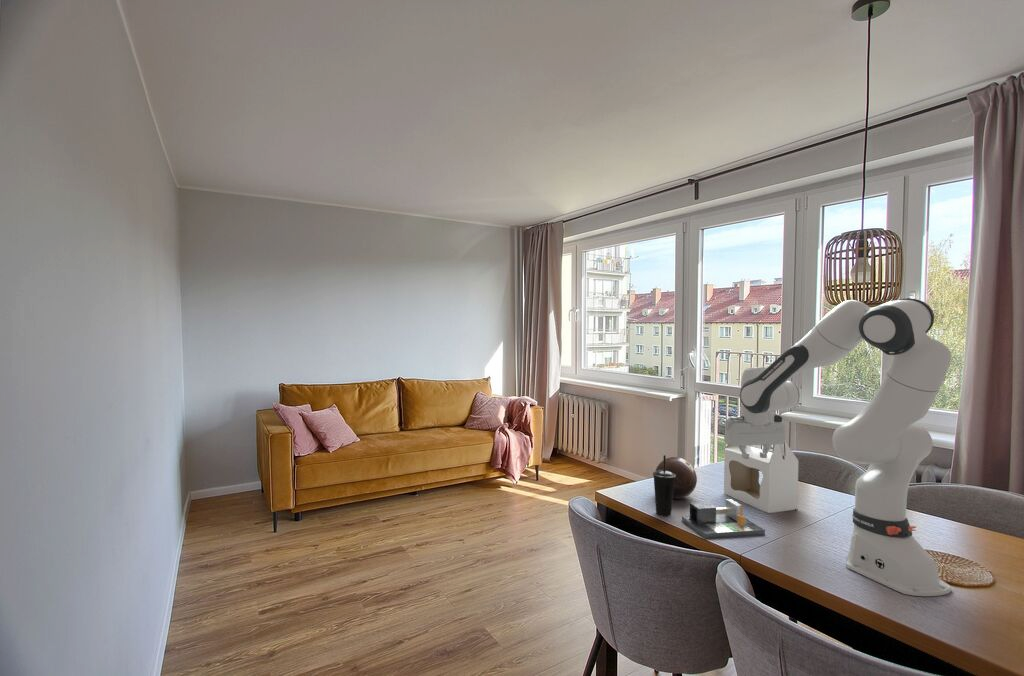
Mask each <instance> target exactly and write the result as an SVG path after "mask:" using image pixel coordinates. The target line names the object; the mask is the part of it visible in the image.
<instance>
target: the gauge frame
mask: <svg viewBox="0 0 1024 676" xmlns="http://www.w3.org/2000/svg"><path fill="white" fill-rule="evenodd" d="M716 508H717V506H714V505H713V504H711V503H709V502H707V501H702V502H701V501H699V502H689V515H684V516H683V515H682V516H681V521H682V523H684V524H686V526H688V527H689V528H690V529H692V530H693V531H694V532H695V533H697V534H698V535H699V536H701V537H702V538H703V539H705V540H706V539H721V538H736V537H748V536H749V537H750V536H751V537H753V536H766V530H765V529H764V528H762V527H761V526H759V525H758V524H756V523H755V522H753V521H751V520H749V519H747V518H746V517H745V520H747V523H745V525H740V524H739V523H737V521H735V520H734V519H732V518H731V517H729V516H727V515H726V514H716Z"/></svg>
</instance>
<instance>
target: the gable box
mask: <svg viewBox="0 0 1024 676" xmlns="http://www.w3.org/2000/svg"><path fill="white" fill-rule="evenodd" d="M726 445H727V446H726V447H725V448H724V458H723V459H724V461H723V462H724V465H723V466H724V467H723V469H724V470H723V472H724V473H723V494H725V495H726V496H728V497H731V498H733V499H736V500H738V501H740V502H742V503H745V504H747V505H749V506H751V507H753V508H755V509H758V510H760V511H762V512H765V513H767V514H773V513H780V512H781V513H782V512H787V511H795V509H796V510H798V508H799V507H798V504H799V503H798V502H799V501H798V500H799V495H798V494H799V459H798V458H797V456H796V455H795V453H794V452H793V450H792V449H791V448H790V446H789V445H788V444H787V442H786V441H785V442H784V444H773V449H772V451H770V450H769V451H768V453H767V458H760V452H762V450H763V448H760V447H756V446H754V445H746V449H745V451H746V453H749V459H743V458H742V452H741V451H740V449H739V446H730V445H728V444H726ZM760 472H761V474H762V479H761V481H760ZM759 481H760V482H761V483H760V482H759Z"/></svg>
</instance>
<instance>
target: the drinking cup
mask: <svg viewBox="0 0 1024 676" xmlns="http://www.w3.org/2000/svg"><path fill="white" fill-rule="evenodd" d="M666 459H667V457H666V454H665V455H664V454H663V460H662V461H663V470H658V471H656V470H655V471H652V476H653V485H654V486H653V487H654V498H655V511H656V515H658V516H660V515H662V516H661V517H670V516H671V515H672V511H673V510H672V509H673V500H674V498H673V492H674V483H675V477H676V474H674V473H672V472H670V471H668V470H665V464H666ZM669 515H670V516H669Z"/></svg>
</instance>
